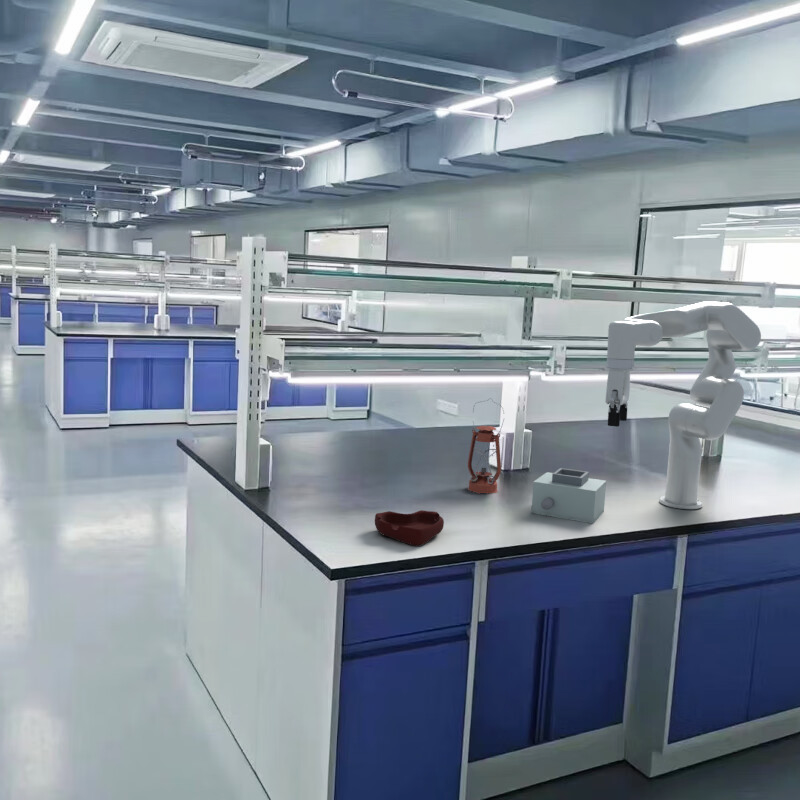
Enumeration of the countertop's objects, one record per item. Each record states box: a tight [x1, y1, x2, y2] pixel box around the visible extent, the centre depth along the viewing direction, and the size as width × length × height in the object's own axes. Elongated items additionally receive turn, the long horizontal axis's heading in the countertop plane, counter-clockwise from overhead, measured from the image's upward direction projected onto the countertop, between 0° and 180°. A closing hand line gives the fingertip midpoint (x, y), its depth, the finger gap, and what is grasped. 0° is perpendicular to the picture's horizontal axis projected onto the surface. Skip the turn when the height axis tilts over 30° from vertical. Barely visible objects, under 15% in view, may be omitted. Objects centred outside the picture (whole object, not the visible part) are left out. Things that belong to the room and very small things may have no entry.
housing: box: [530, 467, 607, 524], centre depth 227 cm, size 17×18×12 cm
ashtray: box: [374, 510, 445, 547], centre depth 201 cm, size 18×16×5 cm
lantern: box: [467, 397, 505, 495], centre depth 248 cm, size 10×10×30 cm
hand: (617, 423), depth 226 cm, fingers open, 9 cm apart
